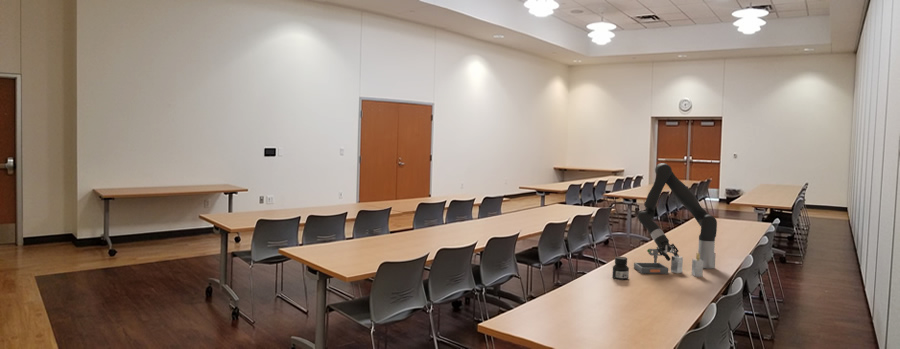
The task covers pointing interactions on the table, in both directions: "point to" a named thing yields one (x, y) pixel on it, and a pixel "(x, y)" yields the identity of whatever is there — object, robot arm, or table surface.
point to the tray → (651, 268)
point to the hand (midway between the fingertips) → (674, 259)
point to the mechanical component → (654, 254)
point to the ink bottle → (620, 268)
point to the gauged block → (697, 266)
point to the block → (676, 264)
